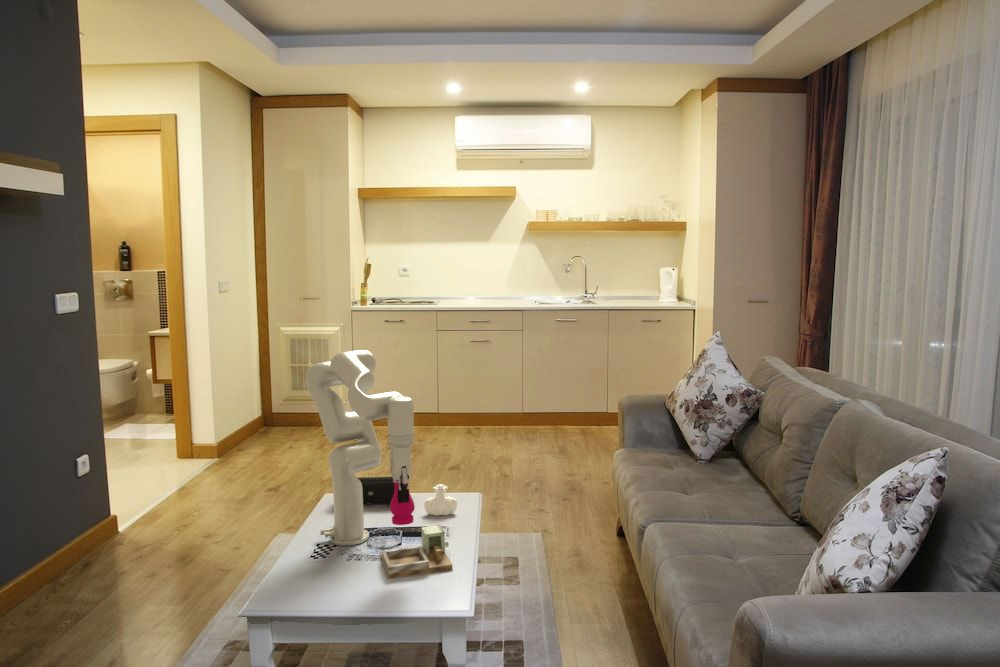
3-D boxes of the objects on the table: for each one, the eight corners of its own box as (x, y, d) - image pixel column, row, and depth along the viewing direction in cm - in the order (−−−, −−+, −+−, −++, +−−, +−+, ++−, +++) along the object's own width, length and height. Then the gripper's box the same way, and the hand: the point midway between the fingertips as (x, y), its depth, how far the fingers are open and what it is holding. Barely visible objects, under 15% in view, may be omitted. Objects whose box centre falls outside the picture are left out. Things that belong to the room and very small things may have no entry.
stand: (388, 578, 207) (388, 564, 206) (380, 556, 222) (380, 543, 221) (452, 569, 212) (452, 554, 212) (440, 548, 227) (439, 535, 227)
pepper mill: (394, 526, 205) (392, 457, 206) (387, 521, 212) (385, 454, 212) (418, 523, 208) (416, 454, 209) (410, 518, 215) (408, 451, 215)
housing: (425, 554, 219) (425, 534, 219) (421, 546, 225) (421, 527, 224) (444, 551, 221) (444, 531, 220) (440, 544, 227) (440, 524, 226)
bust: (457, 518, 260) (456, 488, 266) (457, 511, 253) (456, 481, 259) (424, 519, 259) (424, 489, 265) (423, 512, 252) (423, 482, 258)
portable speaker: (336, 509, 265) (335, 482, 264) (341, 499, 275) (340, 474, 274) (405, 506, 266) (404, 480, 265) (407, 497, 276) (407, 472, 275)
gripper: (384, 432, 215) (385, 490, 218) (392, 448, 199) (393, 510, 201) (408, 430, 217) (409, 488, 220) (419, 446, 201) (419, 507, 203)
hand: (401, 498), depth 211 cm, fingers closed on pepper mill, 5 cm apart
